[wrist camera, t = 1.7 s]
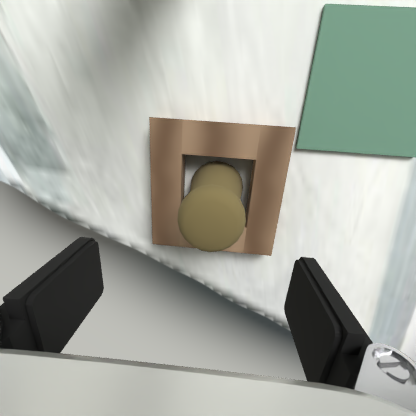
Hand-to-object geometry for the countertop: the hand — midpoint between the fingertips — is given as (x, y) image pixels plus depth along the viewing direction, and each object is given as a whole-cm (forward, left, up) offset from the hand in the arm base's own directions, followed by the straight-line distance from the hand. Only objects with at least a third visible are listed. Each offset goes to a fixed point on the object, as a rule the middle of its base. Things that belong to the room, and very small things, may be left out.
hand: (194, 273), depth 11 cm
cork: (0, 0, -16) cm, 16 cm away
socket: (0, 0, -16) cm, 16 cm away
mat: (-14, -11, -16) cm, 24 cm away
